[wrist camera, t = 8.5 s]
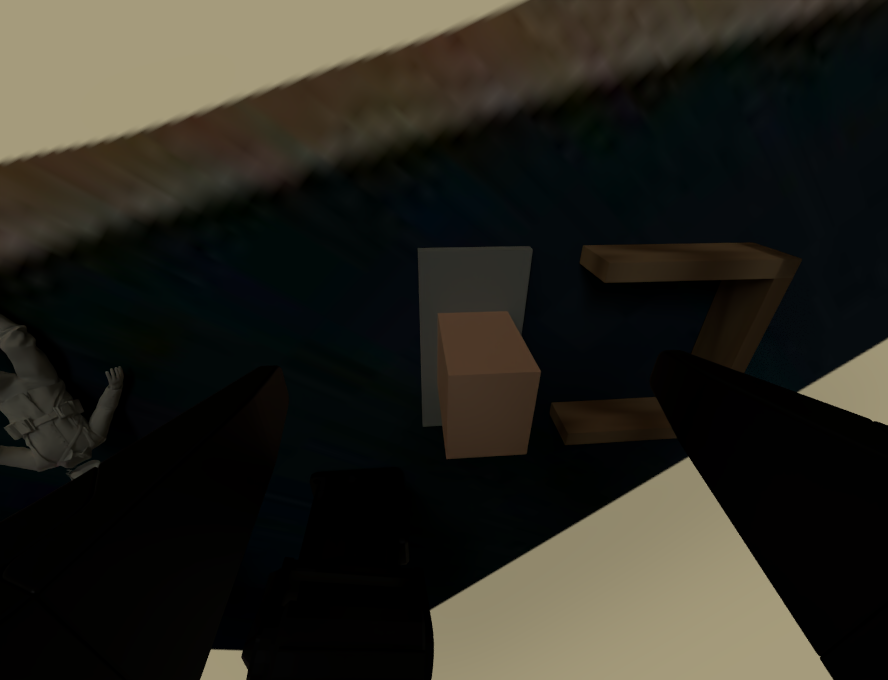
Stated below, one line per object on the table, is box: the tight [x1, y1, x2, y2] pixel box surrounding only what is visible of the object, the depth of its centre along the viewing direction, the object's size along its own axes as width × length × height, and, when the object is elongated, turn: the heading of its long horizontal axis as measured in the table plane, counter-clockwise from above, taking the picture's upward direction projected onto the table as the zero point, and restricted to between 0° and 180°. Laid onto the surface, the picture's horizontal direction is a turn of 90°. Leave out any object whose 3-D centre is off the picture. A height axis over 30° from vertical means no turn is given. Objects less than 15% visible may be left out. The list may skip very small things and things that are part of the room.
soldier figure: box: [0, 314, 124, 481], centre depth 20 cm, size 8×5×12 cm
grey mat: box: [418, 246, 533, 427], centre depth 22 cm, size 6×12×1 cm, turn 179°
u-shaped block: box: [549, 243, 802, 445], centre depth 22 cm, size 10×12×3 cm
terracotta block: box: [437, 311, 541, 459], centre depth 19 cm, size 4×5×6 cm
